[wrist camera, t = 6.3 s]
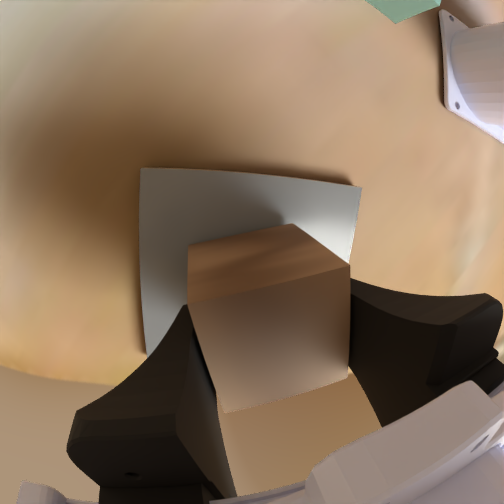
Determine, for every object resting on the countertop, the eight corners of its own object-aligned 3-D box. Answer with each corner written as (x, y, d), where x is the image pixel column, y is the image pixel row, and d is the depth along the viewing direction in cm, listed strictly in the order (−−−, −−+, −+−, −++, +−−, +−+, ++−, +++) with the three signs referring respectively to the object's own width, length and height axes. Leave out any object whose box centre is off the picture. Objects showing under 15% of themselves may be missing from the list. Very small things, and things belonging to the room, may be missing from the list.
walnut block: (292, 222, 12) (350, 264, 8) (302, 311, 14) (347, 377, 9) (188, 245, 12) (187, 304, 7) (211, 333, 13) (224, 413, 9)
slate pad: (353, 185, 14) (361, 187, 13) (318, 351, 17) (323, 359, 16) (143, 167, 12) (140, 168, 11) (149, 356, 15) (148, 366, 14)
